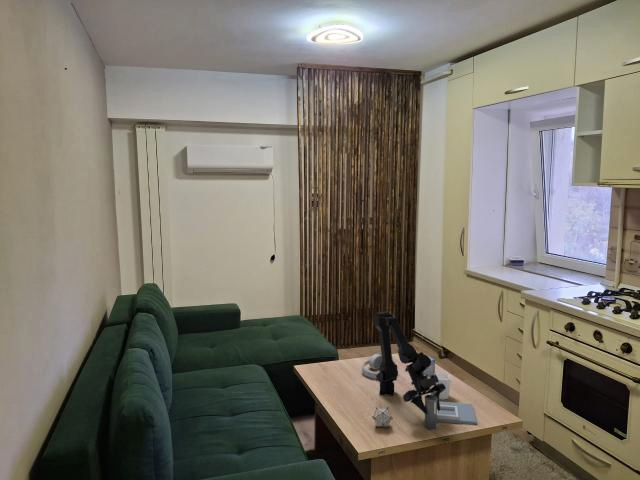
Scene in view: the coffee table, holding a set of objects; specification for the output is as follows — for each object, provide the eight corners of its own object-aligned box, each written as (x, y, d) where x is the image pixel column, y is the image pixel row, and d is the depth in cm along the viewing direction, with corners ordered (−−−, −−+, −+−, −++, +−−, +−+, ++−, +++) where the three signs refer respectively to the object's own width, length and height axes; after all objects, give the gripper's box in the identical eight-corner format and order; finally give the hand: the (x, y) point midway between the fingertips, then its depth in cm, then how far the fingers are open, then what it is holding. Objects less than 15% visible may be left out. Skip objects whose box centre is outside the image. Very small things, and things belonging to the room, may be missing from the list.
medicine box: (419, 371, 253) (419, 356, 252) (425, 370, 255) (426, 354, 254) (428, 377, 246) (428, 361, 245) (435, 375, 248) (435, 359, 246)
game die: (384, 437, 196) (386, 426, 189) (367, 425, 200) (368, 414, 193) (395, 420, 201) (397, 409, 194) (378, 409, 205) (379, 398, 198)
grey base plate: (432, 420, 201) (432, 415, 201) (431, 403, 217) (431, 397, 217) (476, 424, 198) (476, 418, 198) (472, 406, 213) (472, 400, 213)
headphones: (369, 362, 265) (358, 380, 248) (368, 349, 263) (357, 367, 246) (401, 366, 258) (392, 386, 241) (400, 353, 256) (391, 372, 239)
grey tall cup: (421, 425, 198) (422, 396, 196) (431, 422, 200) (432, 393, 198) (429, 431, 193) (429, 401, 192) (439, 428, 195) (440, 398, 194)
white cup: (450, 400, 219) (451, 380, 218) (433, 399, 221) (433, 379, 219) (449, 393, 227) (449, 373, 226) (432, 392, 228) (433, 372, 227)
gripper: (407, 373, 194) (422, 410, 185) (443, 365, 201) (460, 400, 192) (396, 383, 202) (411, 419, 193) (431, 375, 209) (447, 410, 201)
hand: (433, 412), depth 195 cm, fingers open, 6 cm apart
